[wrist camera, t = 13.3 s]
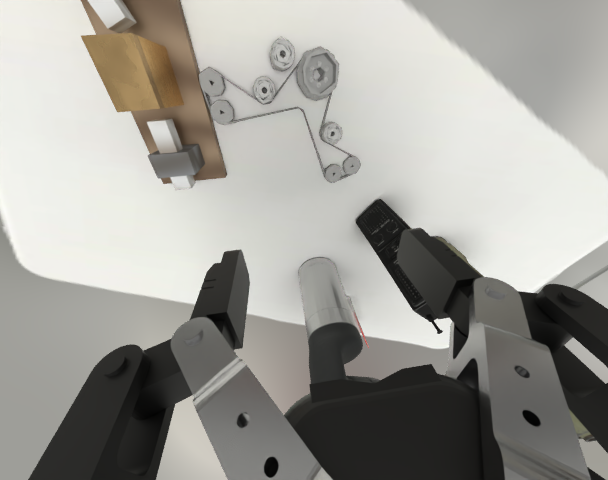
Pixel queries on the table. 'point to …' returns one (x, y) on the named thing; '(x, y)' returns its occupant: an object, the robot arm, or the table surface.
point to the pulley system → (305, 79)
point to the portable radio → (392, 252)
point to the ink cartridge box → (356, 318)
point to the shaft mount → (195, 112)
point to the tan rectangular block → (134, 71)
